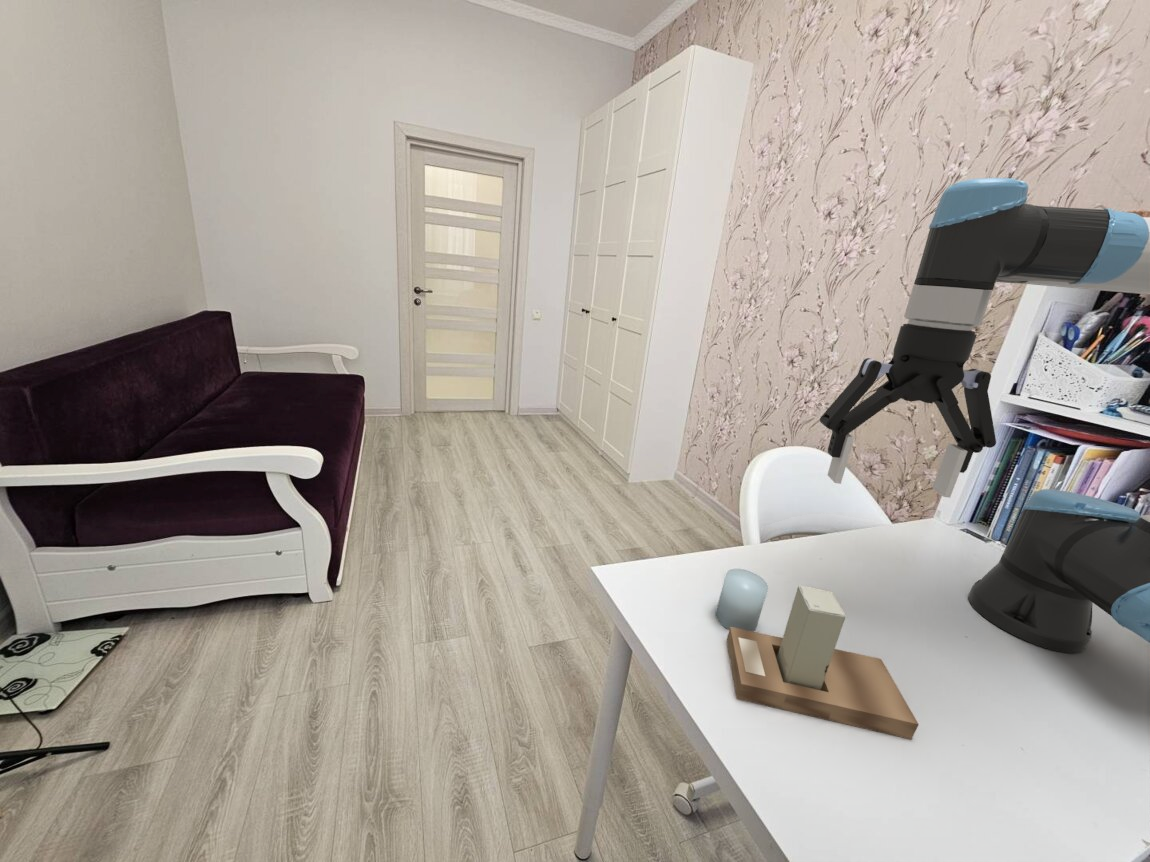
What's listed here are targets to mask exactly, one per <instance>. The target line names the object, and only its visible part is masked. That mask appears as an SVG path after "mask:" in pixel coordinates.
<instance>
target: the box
mask: <svg viewBox="0 0 1150 862" xmlns="http://www.w3.org/2000/svg"><path fill="white" fill-rule="evenodd" d="M845 620H846V613H845V612H844V610H843V608H842V606H841V604H840V603H839V601H838V599H837V597H836V595H835V594H834V592H833V591H831V590H829V591H828V590H824V589H819V588H814V587H809V586H805V585H800V584H799V585H798V586H797V590H796V592H795V595H794V598H793V603H792V605H791V609H790V612H789V616H788V619H787V622H786V625H785V629H784V632H783V636H782V638H783V639H782V642H781V646H780V649H779V653H778V656H777V659H776V660H777V663H778V666H779V670H780V673H781V677H782V680H783V682H785V683H790V684H794V685H798V686H803V687H807V688H812V689H816V690H821V688H822V685H823V682H824V679H825V676H826V673H827V670H828V667H829V664H830V661H831V658H832V655H833V652H834V649H836V646H837V643H838V641H839V638H840V635H841V631H842V628H843V626H844V622H845Z"/></svg>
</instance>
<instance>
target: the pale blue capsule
mask: <svg viewBox="0 0 1150 862" xmlns="http://www.w3.org/2000/svg"><path fill="white" fill-rule="evenodd" d="M726 571H727V572H725V575H724V579H723V583H722V587H721V591H720V595H719V599H718V603H717V605H716V606H717V607H716V610H715V618H716V620H717V622H719V624H720V625H721V626H722V627H724V628H725V629H727V630H728V631H729V629H730V627H734V628H739V629H744V630H748V631H753V632H756V629H757V627H758V623H759V620H760V617H761V613H762V610H763V607H764V603H765V602H766V601H765V600H766V597H767V594H768V589H769V585H768V583H767V581H766V580H765V579H764V578H763V577H762V576H760V575H758V574H757V573H755V572H753V571H751V570H747V569H744V568H731V569H728V570H726Z"/></svg>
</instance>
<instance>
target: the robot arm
mask: <svg viewBox="0 0 1150 862" xmlns="http://www.w3.org/2000/svg"><path fill="white" fill-rule="evenodd" d="M1028 192H1029V185H1028V183H1027V182H1026V181H1024V180H1020V179H1019V180H1018V179H1015V178H1012V177H1010V178H1007V177H1006V178H1005V177H985V178H984V177H983V178H973V179H967V180H962V181H958V182H956V183H953V184H951V185H950V186H948V187H947V188H945V190H944V191H943V193H942V194H941V196H940V199H939V202H938V203H937V206H936V209H935V211H934V214H933V216H932V220H931V222H930V224H929V226H928V229H929V231H928V234H927V238H926V242H925V245H924V249H923V252H922V256H921V259H920V262H919V265H918V269H917V272H916V277H915V280H914V282H913V286H912V289H911V292H910V294H909V298H908V301H907V305H906V308H905V312H904V315H903V316H904V318H905V320H908V322H907V323H903V324H902V325H900V327H899V331H898V335H897V337H896V340H895V341H896V342H895V344H894V347H893V356H892V358H891V359H890V360H889V362H888V363H886V362H881V361H878V360H875V359H873V358H869V357H867V358H865V359H863V361H862V363H861V365H860V367H859V370H858V373H857V374H856V375H855V377H854V378H853V379H852V380H851V381H850V383H848V385H847V386H846V387H845V388H844V390H843V391H842V392H841V393H840V394H839V395H838V396H837V398H836V399H834V401H833V402H832V403H831V404H830V406H829V407H828V408H827V409H826V410H825V412H824V413H823V414H822V415H821V416H820V418H819V422H820V424H822V425H823V426H825V428H826V429H828V430H831V435H830V438H829V439H830V440H829V442H828V443H829V444H828V447H827V454H828V455H829V456H830V457H832V458H831V462H830V464H829V468H828V472H827V476H828V477H829V478H830V480H832V482H833V483H835V484H838V485H839V484H842V481H843V478H844V474H845V471H846V467H847V464H848V460H849V456H850V453H851V451H852V448H853V447H852V446H853V443H854V440H855V437H854V436H852V435H851V434H850V433H851V432H853V431H854V430H856V429H858V428H859V427H860V426H862V425H863V424H864V423H865V422H867V421H868V420H869V419H871V418H873V417H874V416H875V415H876V414H878V413H880V412H881V411H882V410H883V409H885V408H886V407H887V406H889V405H891V404H893V403H896V402H898V401H899V400H900V399H901V400H903V401H907V402H917V401H918V402H919V401H920V402H923V403H925V404H935V405H936V407H937V410H938V411H939V413H940V414H941V416H942V418H943V420H944V422H945V424H946V426H947V427H948V429H949V431H950V433H951V435H952V437H953V439H954V440H955V442H956V444H955V443H947V446H946V449H945V451H944V454H943V456H942V459H941V462H940V464H939V468H938V470H937V473H936V476H935V479H934V482H933V484H932V487H931V489H932V490H934V491H935V492H937V493H938V494H939V495H940V496H942V497H944V498H949V499H950V498H951V496H952V493H953V491H954V489H955V485H956V483H957V481H958V477H959V475H960V473H961V474H964V473H965V472H966V471H967V470H968V468H969V464H970V462H971V460H972V457H973V454H974V453H975V454H978V453H981V452H982V450H983V448H985V447H986V448H988V449H990V448H993V447H995V446H996V444H997V438H996V432H995V427H994V420H993V415H992V409H991V403H990V398H989V387H990V383H991V378H992V375H991V373H990V372H987V371H984V370H981V369H977V368H970V369H968V370H964V366H965V363H966V362H967V361H968V360H969V359H970V357H971V353H972V350H973V348H974V345H975V342H976V339H977V334H976V331H974V330H973V329H974V327H979V326H981V325H982V322H983V321H984V318H985V315H986V311H987V308H988V305H989V302H990V298H991V296H992V292H993V290H994V288H995V285H996V283H1002V284H1003V283H1004V284H1005V283H1006V284H1007V283H1008V284H1021V285H1022V284H1023V285H1031V286H1045V287H1046V286H1047V287H1058V288H1069V289H1070V288H1071V289H1082V290H1091V291H1093V290H1094V291H1105V292H1113V293H1114V292H1116V293H1128V294H1142V295H1150V228H1149V225H1148V222H1147V221H1146V219H1145V218H1144V217H1143V216H1141V215H1140V214H1138V213H1134V212H1128V211H1120V210H1113V209H1112V208H1109V207H1106V208H1103V209H1102V208H1101V209H1100V208H1098V209H1097V208H1080V207H1079V208H1078V207H1063V206H1062V207H1059V206H1044V205H1043V206H1041V205H1039V206H1038V205H1034V204H1030V203H1027V200H1028V198H1027V197H1028ZM883 375H885V376H886V379H887V380H886V381H885V382H883V384H881V385H880V386H879V387H877V388H876V390H875V392H874V393H872V394H871V395H869V396H868V397H867V398H865V399H864V400H863V401H861V402H860V403H859V404H857V403H858V402H859V401H860V400H861V399H862V397H864V395H865V394H866V393H867V392H868V391H869V390H870V388H871V387H872V386H873V384H874V383H875V382H876V380H879V379H880V378H882V376H883ZM959 384H961V386H962V387H963V393H964V398H965V403H966V409H967V415H968V420H969V424H968V422H967V419H966V418H965V416H964V414H963V412H962V410H961V408H960V406H959V405H958V404H959V401H958V398H957V397H956V395H955V393H954V390H953V389H955V388H956V387H957V386H958V385H959ZM856 404H857V405H856ZM968 600H969V601H968V602H969V603H970V605H971V606H972V607H973V608H974V609H975V611H977V612H978V613H979V614H980V615H981V616H982V617H984V618H985V619H986V620H987V621H989V622H990V623H992V624H993V625H995V626H996V627H997V628H1000V629H1001V630H1003V631H1005V632H1007V633H1008V634H1011V635H1013V636H1014V637H1016V638H1019V639H1020V640H1023V641H1026V642H1027V643H1031V644H1033V645H1036V646H1038V647H1042V648H1044V649H1048V650H1051V651H1056V652H1060V653H1065V654H1066V653H1069V654H1076V653H1077V654H1078V653H1081V652H1084V651H1085V650H1086V649H1087V646H1088V645H1089V643H1090V641H1091V639H1092V634H1093V631H1092V629H1091V628H1092V623H1093V606H1094V605H1095V606H1097V607H1098V608H1099V609H1100V610H1102V611H1104V612H1105V613H1107V615H1109V616H1110V617H1112V619H1113V620H1115V621H1116V622H1117V624H1118V625H1120V626H1121V627H1122V628H1125V629H1127V630H1129V631H1131V632H1132V633H1134V634H1136V635H1137V636H1139V637H1140V638H1142V639H1143V640H1145V641H1146V642H1148V643H1150V514H1144V515H1143V514H1142V515H1141V514H1140V513H1139V511H1137V510H1135V509H1133V508H1131V507H1129V506H1126V505H1123V504H1119V503H1117V502H1112V501H1109V500H1106V499H1103V498H1098V497H1094V496H1090V495H1086V494H1081V493H1076V492H1072V491H1068V490H1067V491H1066V490H1059V489H1051V488H1050V489H1049V488H1046V489H1039V490H1037V491H1035V492H1033V493H1032V494H1031V496H1030V498H1029V499H1028V501H1027V503H1026V504H1025V505H1024V506H1023V507H1022V511H1021V513H1020V515H1019V517H1018V520H1017V522H1016V524H1015V526H1014V528H1013V531H1012V533H1011V535H1010V538H1009V540H1008V542H1007V544H1006V546H1005V548H1004V550H1003V553H1002V555H1001V557H1000V559H999V561H998V562H997V564H996V565H994V566H993V567H992V568H991V569H990V570H989V571H988V572H986V574H985V575H984V576H982V578H981V579H979V580H976V581H975V582H974V583H973V585H972V587H971V589H970V591H969V594H968ZM1093 604H1094V605H1093Z"/></svg>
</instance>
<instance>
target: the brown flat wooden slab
mask: <svg viewBox="0 0 1150 862" xmlns="http://www.w3.org/2000/svg"><path fill="white" fill-rule="evenodd" d="M782 639H783V637H782V636H781V637H780V636H775V635H771V634H766V633H762V632H759V631H758V632H756V631H754V632H753V631H748V630H744V629H739V628H734V627H730V629H729V630H728V633H727V637H726V645H727V646H726V647H727V650H728V651H727V652H728V655H729V663H730V667H731V674H732V679H733V683H734V684H733V685H734V691H735V696H736V699H737V700H741V701H745V702H750V703H754V704H758V705H763V706H767V707H771V708H776V709H779V710H784V711H788V712H792V713H797V714H801V715H805V716H810V717H813V718H818V719H822V720H827V721H831V722H835V723H841V724H844V725H848V726H852V727H857V728H861V729H867V730H870V731H875V732H877V733H878V732H879V733H883V734H887V735H892V736H896V737H901V738H904V739H908V740H913V737H914V735H915V733H916V731H917V728H918V727H919V726H920V725H919V723H918V720H917V719H916V717H915V715H914V714H913V711H912V710H911V708H910V707H909V704H908V703H907V701H906V700H905V698H904V696H903V694H902V693H901V691H900V689H899V687H898V685H897V684H896V682H895V680H894V679H893V677H892V675H891V673H890V672H889V670H888V668H887V666H886V665H885V663H884V661H883V659H882V658H878V657H875V656H870V655H865V654H860V653H855V652H851V651H846V650H842V649H836V648H835V649H834V652H833V655H832V658H831V661H830V664H829V667H828V670H827V673H826V676H825V679H824V682H823V685H822V688H821V690H816V689H812V688H807V687H803V686H798V685H794V684H790V683H785V682H783V680H782V677H781V673H780V670H779V666H778V663H777V660H776V659H777V656H778V653H779V649H780V646H781V642H782Z"/></svg>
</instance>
